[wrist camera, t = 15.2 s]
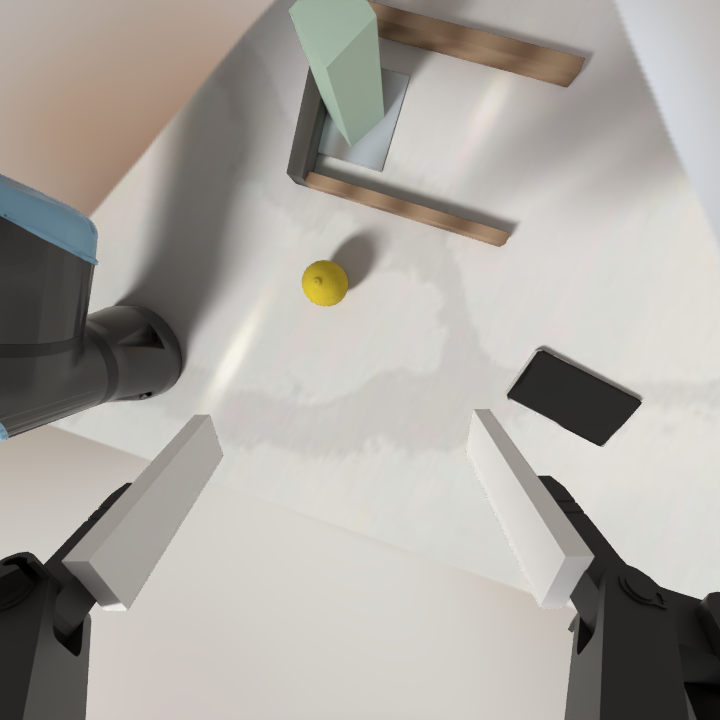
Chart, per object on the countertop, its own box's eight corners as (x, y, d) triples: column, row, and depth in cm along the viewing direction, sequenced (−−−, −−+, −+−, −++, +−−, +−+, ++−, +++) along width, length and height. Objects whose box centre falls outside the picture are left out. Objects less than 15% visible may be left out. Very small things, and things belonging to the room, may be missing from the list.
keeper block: (351, 148, 33) (326, 68, 22) (327, 111, 33) (288, 10, 21) (384, 117, 32) (376, 15, 21) (360, 79, 32) (337, -48, 20)
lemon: (347, 260, 37) (334, 250, 29) (356, 301, 38) (345, 301, 30) (310, 269, 38) (286, 262, 30) (319, 309, 39) (299, 311, 31)
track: (295, 183, 35) (286, 173, 32) (334, 10, 31) (327, -20, 28) (499, 246, 34) (508, 241, 31) (572, 74, 29) (591, 49, 26)
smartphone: (602, 449, 37) (504, 398, 37) (595, 444, 38) (500, 395, 38) (644, 401, 35) (540, 347, 35) (636, 397, 36) (535, 345, 36)
